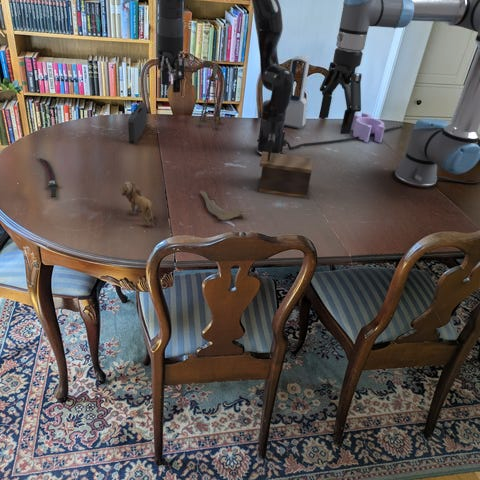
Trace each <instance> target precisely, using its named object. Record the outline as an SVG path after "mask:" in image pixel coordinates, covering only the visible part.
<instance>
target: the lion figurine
mask: <svg viewBox="0 0 480 480" xmlns="http://www.w3.org/2000/svg"><path fill="white" fill-rule="evenodd" d="M119 193H120V194H121V196H122V197H124V196H125V198H126V199H127V200H128V202H129V203H130V207H131V211H130V212H129V213H130V215H135V214H136V211H137V212H141V214H142V216H143V218H144V219H145V223H144V225H145V227H149V226H150V221H152V223H153V225H155V226H159V222H156V221H155V219H154V217H153V216H154V215H153V204H152V202H151V200H150V199H148V198H146V197H145V196H144V195H143V194H142V192H141V190H140V187H138V185H136V184H135V183H133V182H132V181H125V182H124V186H122V188H121V189H119ZM136 207H137V208H136ZM148 214H149V216H148Z"/></svg>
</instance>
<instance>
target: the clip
mask: <svg viewBox="0 0 480 480" xmlns="http://www.w3.org/2000/svg"><path fill="white" fill-rule="evenodd" d="M358 114H359V113H358V112H355V115H354V119H353V123H352V126H351V131H353V132H352V136H353V137H359V138H358V139H357V140H361V141H363V142H364V143H368V142H369V140H370V137H371V136H370V134H371V133H374V135H373V136H374V139H373V140H374V142H376V143H382V140H383V137H384V133H385V132H384V130H386V127H385V122H384V121H383V120H380V119H377V118H374V117H372V115H371V114H369V113H366V112H361V115H358Z"/></svg>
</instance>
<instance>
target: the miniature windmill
mask: <svg viewBox="0 0 480 480" xmlns="http://www.w3.org/2000/svg"><path fill="white" fill-rule="evenodd" d="M213 62H214V63H211V62H209V61H205V60H203V63H202V64H203V65H202V67H204V68H209V67H212V70H211V75H210V76H208V77H207V78H206V80H209V83H208V85H207V86H208V87H207V89H206V94H205V95H204V96H205V98H204V100H203V105H202V110H201V111H200V113H201V114H200V116H199V121H198V127H201V123H202V121H203V122H205V121H206V120H208V121H214V128H215V130H217V129H218V125H217V123H219V124H222V121H221V120H222V119H221V112H220V103H219V96H218V90H217V89H218V88H217V81H219V80H220V79H221V78H220V77H218V76H217V74H218V71H219V69H218V68H219V64H220V62H219V59H218V54H215V60H213ZM216 76H217V77H216ZM211 87H212V88H213V92H211ZM211 97H212V98H213V102H210V101H209V98H211ZM208 104H211V105H212V104H213V106H211V105H208ZM208 108H211V109H214V113H209V112H207V109H208ZM217 113H218V114H217ZM206 115H212V116H214V118H208V117H206ZM217 116H218V117H217ZM217 121H218V122H217Z"/></svg>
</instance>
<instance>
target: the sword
mask: <svg viewBox="0 0 480 480" xmlns="http://www.w3.org/2000/svg"><path fill="white" fill-rule="evenodd" d="M40 161H41V162H42V163H43V165H44V166H45V169H46V173H47V176H48V185H47V188H50V198H56V197H57V189H56V188H57V187H59V185H58V184H57V183H56V180H55V176H54V172H53V169H52V167H51V164H50V163H49V161H48V160H46V159H43V158H40Z"/></svg>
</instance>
